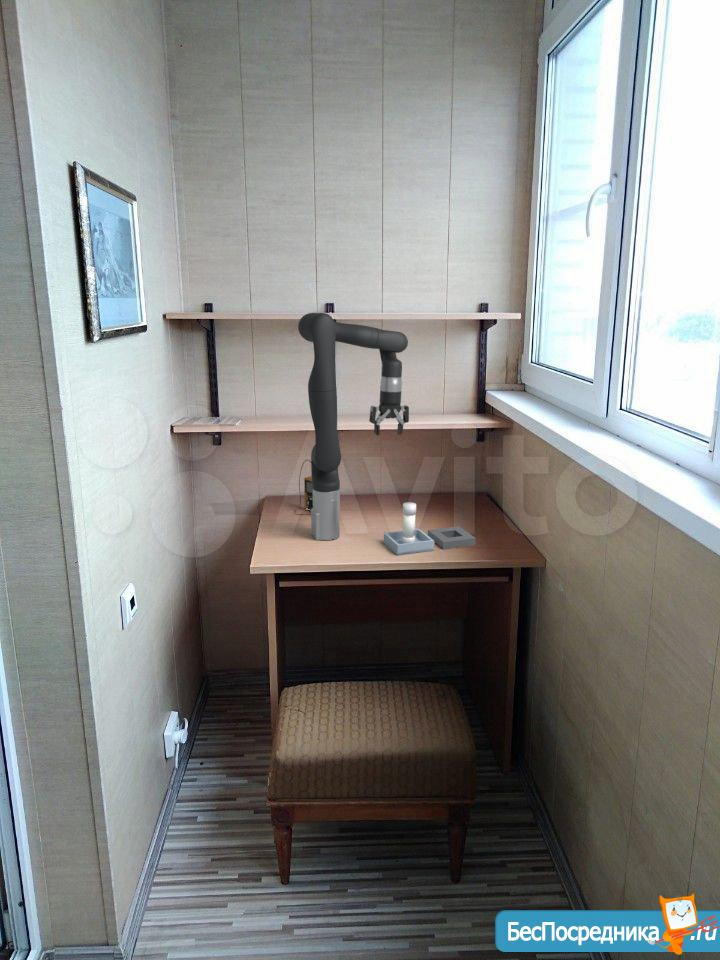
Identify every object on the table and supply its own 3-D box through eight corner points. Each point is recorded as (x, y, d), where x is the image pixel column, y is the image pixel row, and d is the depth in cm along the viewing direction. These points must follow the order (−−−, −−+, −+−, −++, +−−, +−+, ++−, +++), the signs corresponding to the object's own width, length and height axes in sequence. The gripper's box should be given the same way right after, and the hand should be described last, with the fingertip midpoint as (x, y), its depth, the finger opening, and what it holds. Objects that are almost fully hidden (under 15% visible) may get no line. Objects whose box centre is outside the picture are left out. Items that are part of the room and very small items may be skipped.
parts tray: (397, 555, 218) (397, 545, 217) (383, 542, 229) (383, 532, 228) (433, 550, 222) (434, 540, 221) (418, 538, 233) (418, 528, 232)
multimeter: (283, 512, 258) (282, 461, 252) (303, 506, 265) (302, 456, 259) (310, 521, 248) (309, 469, 243) (329, 515, 255) (329, 463, 250)
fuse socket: (443, 549, 223) (443, 542, 223) (427, 536, 234) (427, 530, 233) (475, 544, 227) (475, 537, 227) (458, 532, 238) (458, 526, 237)
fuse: (404, 547, 223) (406, 507, 219) (399, 542, 226) (400, 503, 223) (417, 545, 224) (418, 505, 220) (411, 541, 228) (412, 501, 224)
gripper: (376, 391, 231) (373, 437, 235) (413, 390, 236) (411, 436, 240) (368, 388, 237) (366, 433, 242) (404, 387, 242) (402, 432, 247)
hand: (388, 434), depth 241 cm, fingers open, 8 cm apart
